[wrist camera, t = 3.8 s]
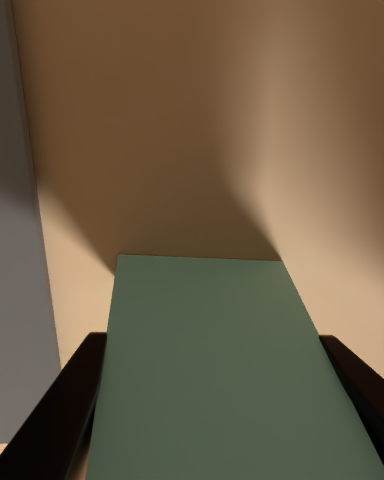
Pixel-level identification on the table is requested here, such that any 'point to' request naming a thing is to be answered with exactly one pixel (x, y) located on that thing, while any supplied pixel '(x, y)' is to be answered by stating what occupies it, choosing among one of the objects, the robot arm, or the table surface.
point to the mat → (20, 255)
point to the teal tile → (219, 380)
